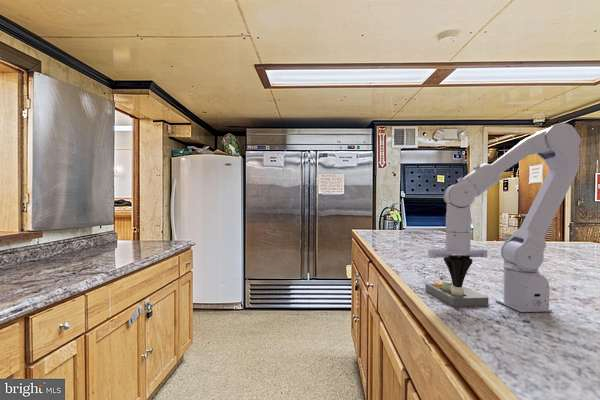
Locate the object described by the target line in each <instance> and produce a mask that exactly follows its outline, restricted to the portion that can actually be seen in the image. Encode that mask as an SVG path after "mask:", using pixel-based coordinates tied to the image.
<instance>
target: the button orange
mask: <svg viewBox="0 0 600 400" xmlns="http://www.w3.org/2000/svg"><path fill="white" fill-rule="evenodd" d="M433 284H434V286H435V287H437V288H439V287H442V282H441V281H439V282H438V281H436V282H433Z"/></svg>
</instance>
